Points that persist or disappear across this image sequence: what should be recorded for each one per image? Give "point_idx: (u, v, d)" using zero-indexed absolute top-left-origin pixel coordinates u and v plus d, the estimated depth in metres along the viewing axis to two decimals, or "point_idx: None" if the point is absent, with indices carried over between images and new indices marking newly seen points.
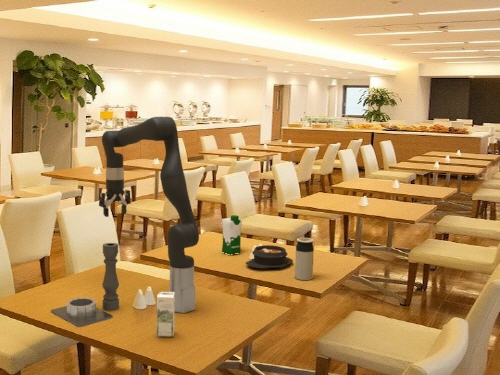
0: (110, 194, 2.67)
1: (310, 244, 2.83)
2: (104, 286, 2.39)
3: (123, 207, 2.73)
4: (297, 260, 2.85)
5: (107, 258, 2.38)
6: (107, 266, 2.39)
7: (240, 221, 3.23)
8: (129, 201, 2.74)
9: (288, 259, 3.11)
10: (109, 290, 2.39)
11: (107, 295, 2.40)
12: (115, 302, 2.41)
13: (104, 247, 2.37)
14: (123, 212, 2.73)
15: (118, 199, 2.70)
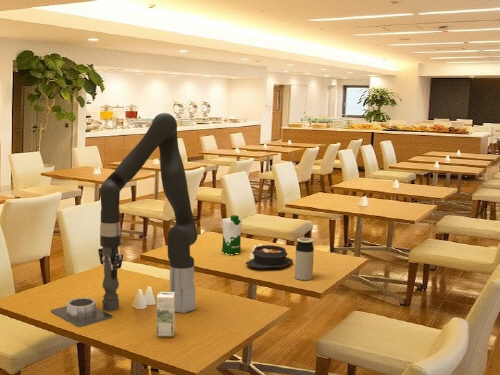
0: None
1: (310, 244, 2.83)
2: (104, 286, 2.39)
3: None
4: (297, 260, 2.85)
5: (107, 258, 2.38)
6: (107, 266, 2.39)
7: (240, 221, 3.23)
8: None
9: (288, 259, 3.11)
10: (109, 290, 2.39)
11: (107, 295, 2.40)
12: (115, 302, 2.41)
13: (104, 247, 2.37)
14: None
15: None
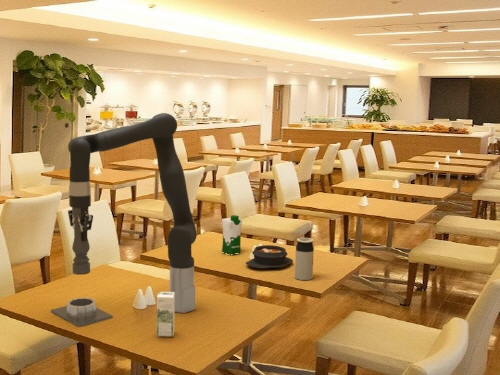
0: None
1: (310, 244, 2.83)
2: (74, 249, 2.29)
3: None
4: (297, 260, 2.85)
5: (76, 219, 2.28)
6: (77, 228, 2.28)
7: (240, 221, 3.23)
8: None
9: (288, 259, 3.11)
10: (79, 253, 2.29)
11: (77, 258, 2.30)
12: (85, 265, 2.30)
13: None
14: None
15: None
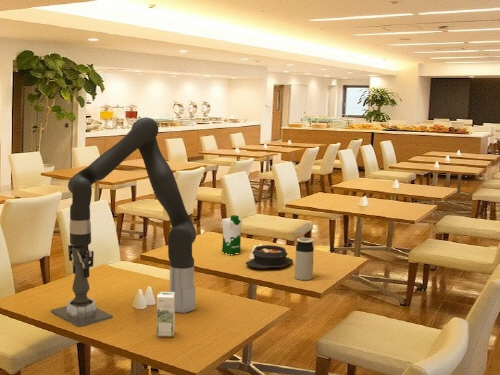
0: None
1: (310, 244, 2.83)
2: (74, 289, 2.32)
3: None
4: (297, 260, 2.85)
5: (76, 260, 2.31)
6: (77, 269, 2.32)
7: (240, 221, 3.23)
8: None
9: (288, 259, 3.11)
10: (79, 293, 2.32)
11: (77, 299, 2.33)
12: None
13: (73, 249, 2.30)
14: None
15: None
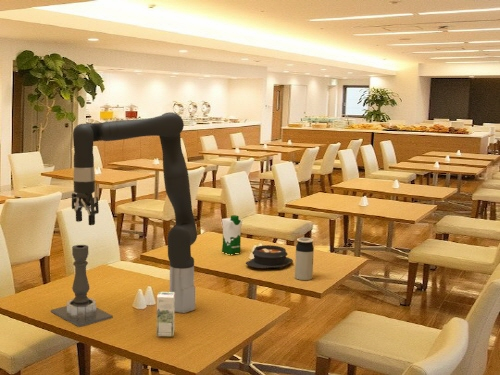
0: None
1: (310, 244, 2.83)
2: (74, 289, 2.32)
3: (80, 213, 2.35)
4: (297, 260, 2.85)
5: (76, 260, 2.31)
6: (77, 269, 2.32)
7: (240, 221, 3.23)
8: None
9: (288, 259, 3.11)
10: (79, 293, 2.32)
11: (77, 299, 2.33)
12: None
13: (73, 249, 2.30)
14: (80, 219, 2.35)
15: None
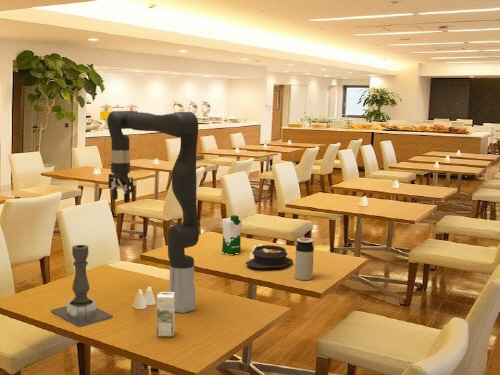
0: None
1: (310, 244, 2.83)
2: (74, 289, 2.32)
3: (116, 192, 2.59)
4: (297, 260, 2.85)
5: (76, 260, 2.31)
6: (77, 269, 2.32)
7: (240, 221, 3.23)
8: None
9: (288, 259, 3.11)
10: (79, 293, 2.32)
11: (77, 299, 2.33)
12: None
13: (73, 249, 2.30)
14: (116, 197, 2.60)
15: None
